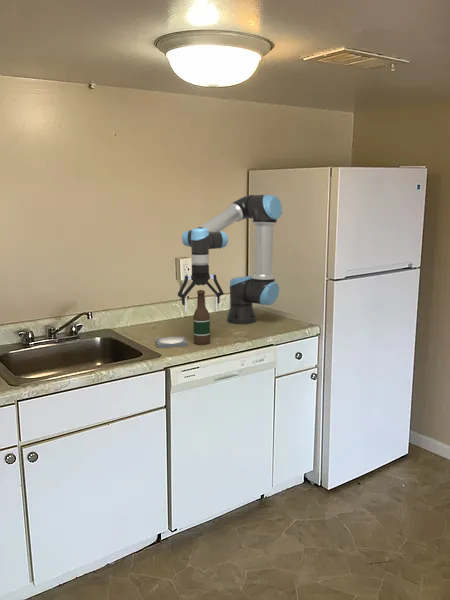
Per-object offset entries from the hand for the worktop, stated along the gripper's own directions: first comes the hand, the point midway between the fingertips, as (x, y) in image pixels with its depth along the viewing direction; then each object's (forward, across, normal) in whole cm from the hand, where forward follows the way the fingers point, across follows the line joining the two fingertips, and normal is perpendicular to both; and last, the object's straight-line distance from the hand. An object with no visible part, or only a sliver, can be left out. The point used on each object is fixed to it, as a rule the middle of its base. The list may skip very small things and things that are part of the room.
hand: (200, 311), depth 246 cm
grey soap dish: (+15, +13, -3) cm, 20 cm away
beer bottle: (+15, 0, 0) cm, 15 cm away
